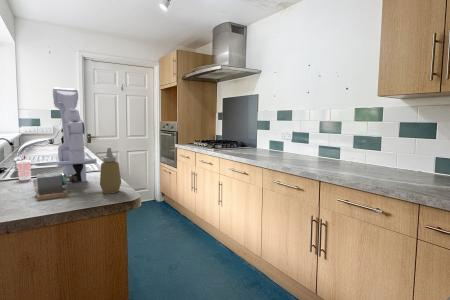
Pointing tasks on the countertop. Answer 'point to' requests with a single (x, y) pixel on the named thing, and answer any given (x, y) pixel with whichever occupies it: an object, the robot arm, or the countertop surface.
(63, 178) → the shaft
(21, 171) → the beverage cup
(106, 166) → the squeeze bottle
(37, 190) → the sharpening stone
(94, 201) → the countertop surface
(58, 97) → the robot arm
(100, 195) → the countertop surface
